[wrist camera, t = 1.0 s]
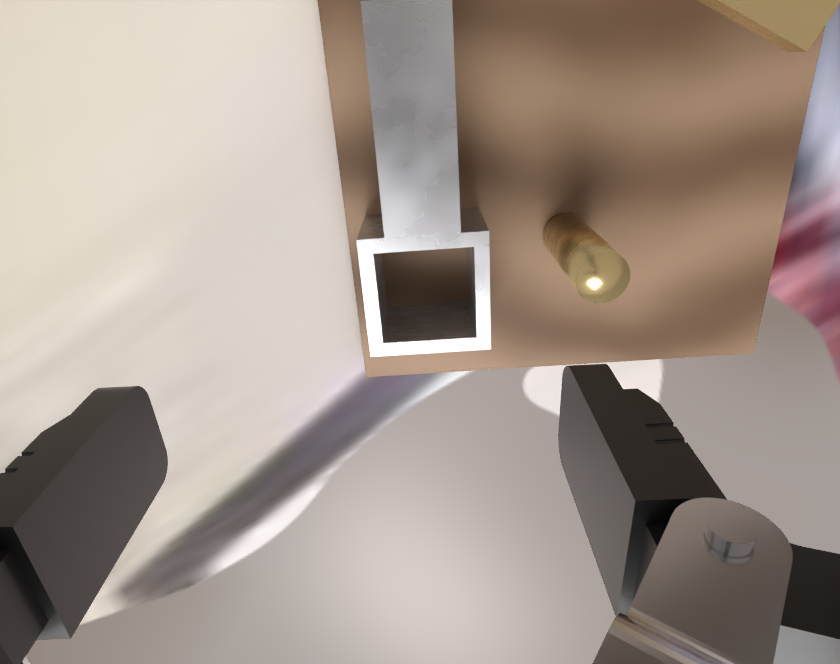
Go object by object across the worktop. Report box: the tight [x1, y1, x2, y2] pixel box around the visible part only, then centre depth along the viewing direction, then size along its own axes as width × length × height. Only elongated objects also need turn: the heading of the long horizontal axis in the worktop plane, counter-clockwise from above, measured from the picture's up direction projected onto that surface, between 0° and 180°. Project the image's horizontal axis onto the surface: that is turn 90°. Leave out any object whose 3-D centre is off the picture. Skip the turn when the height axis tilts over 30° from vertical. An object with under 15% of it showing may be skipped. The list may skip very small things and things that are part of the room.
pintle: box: [542, 212, 630, 304], centre depth 23 cm, size 2×2×6 cm
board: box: [318, 0, 825, 377], centre depth 25 cm, size 20×20×1 cm
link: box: [356, 0, 491, 357], centre depth 23 cm, size 13×5×4 cm, turn 4°
